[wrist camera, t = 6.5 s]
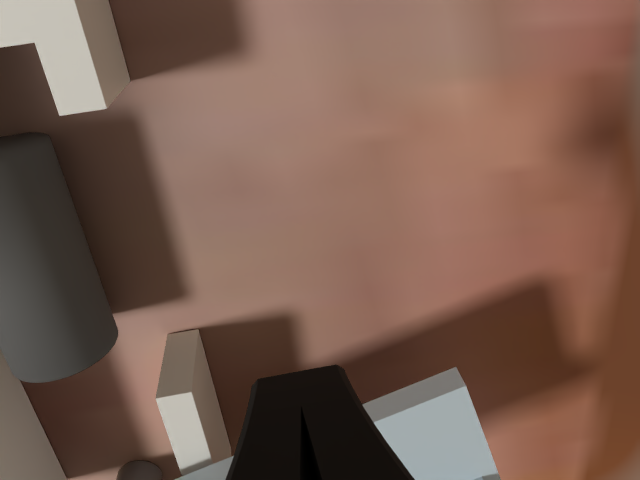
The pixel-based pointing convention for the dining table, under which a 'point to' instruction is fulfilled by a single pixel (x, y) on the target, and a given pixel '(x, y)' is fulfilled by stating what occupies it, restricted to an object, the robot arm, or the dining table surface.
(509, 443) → the dining table surface
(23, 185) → the gray tin can
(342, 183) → the dining table surface
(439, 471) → the cover
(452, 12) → the dining table surface
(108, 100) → the pale grey rectangular block
